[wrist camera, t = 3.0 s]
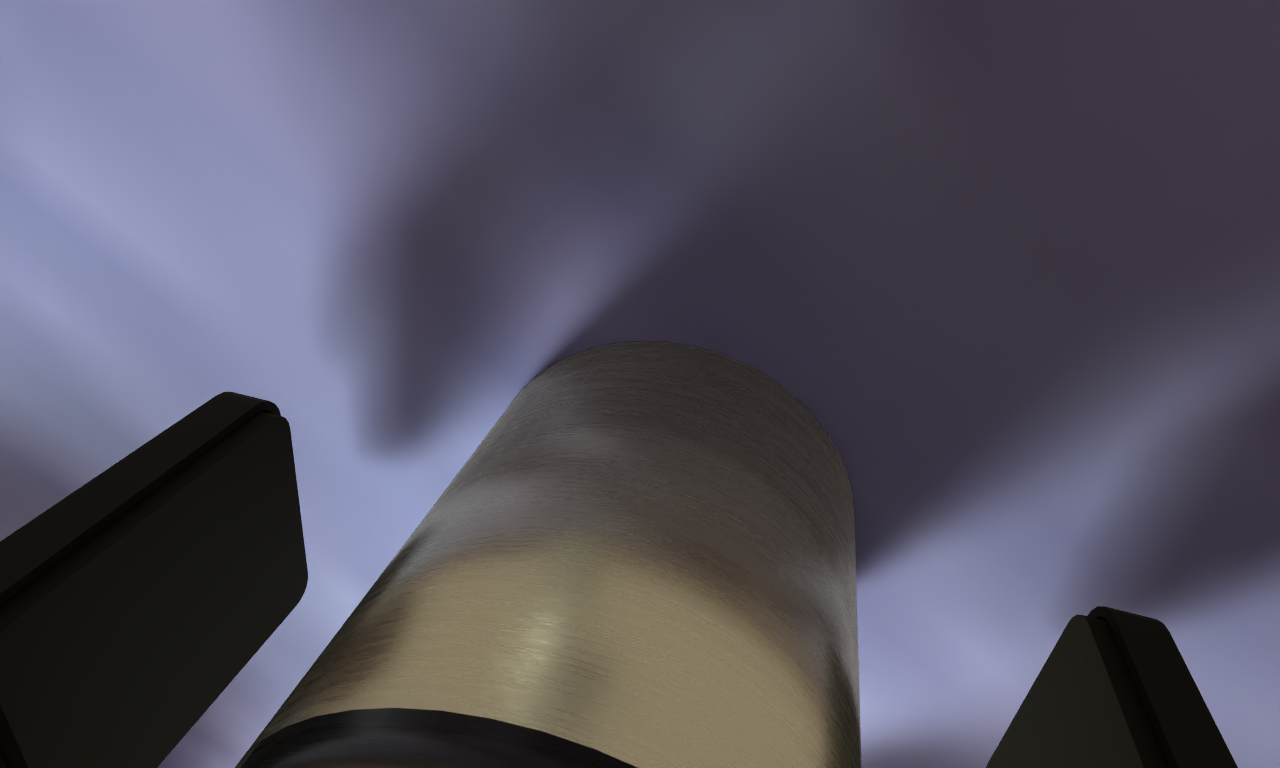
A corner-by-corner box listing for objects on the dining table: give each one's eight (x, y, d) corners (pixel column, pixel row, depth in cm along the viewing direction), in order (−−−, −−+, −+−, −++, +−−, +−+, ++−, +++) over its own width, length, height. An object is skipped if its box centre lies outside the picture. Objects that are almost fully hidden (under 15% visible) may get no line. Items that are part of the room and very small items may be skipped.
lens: (495, 303, 9) (87, 698, 4) (904, 391, 9) (996, 983, 4) (486, 593, 12) (220, 1063, 7) (804, 679, 11) (773, 1271, 6)
